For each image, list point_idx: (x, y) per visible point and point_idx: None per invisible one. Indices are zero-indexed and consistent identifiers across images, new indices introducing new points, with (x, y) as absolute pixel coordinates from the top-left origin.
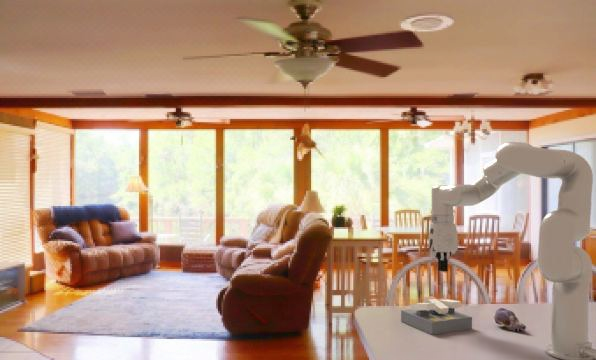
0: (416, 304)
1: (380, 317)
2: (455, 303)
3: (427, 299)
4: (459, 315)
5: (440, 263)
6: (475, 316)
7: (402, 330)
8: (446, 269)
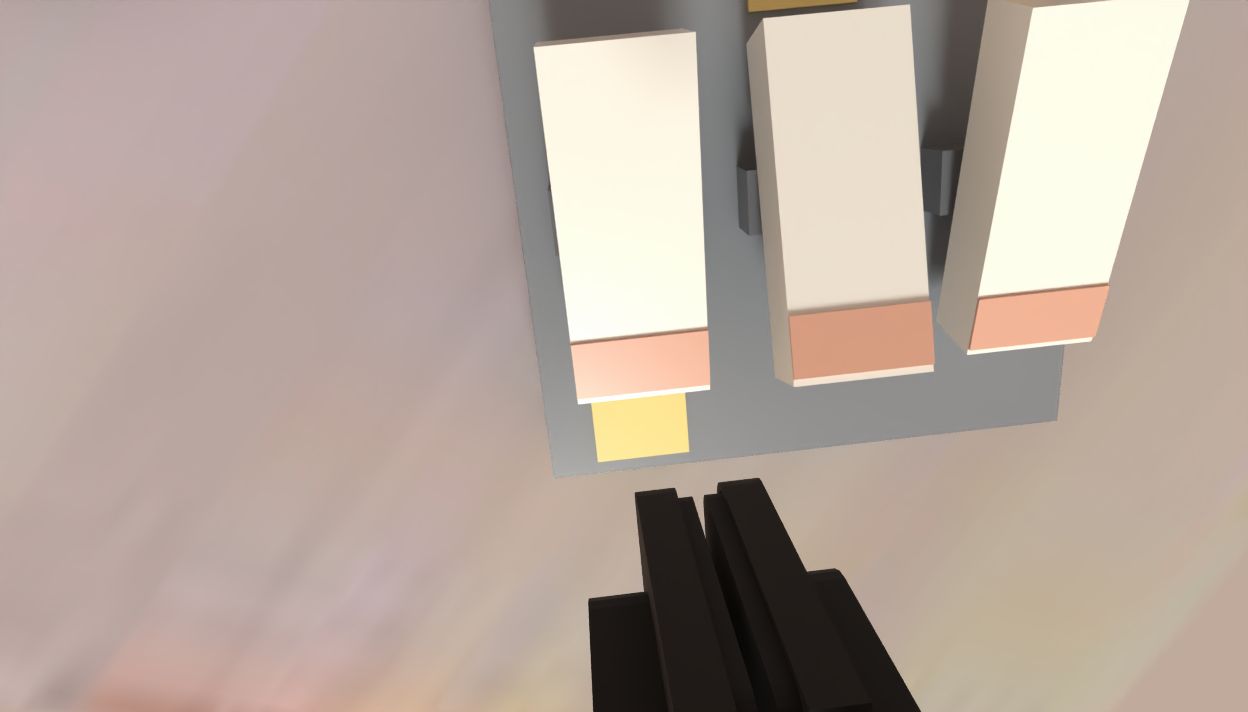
0: (1120, 226)
1: (1069, 534)
2: (641, 36)
3: (926, 298)
4: (589, 15)
5: (892, 693)
6: (182, 327)
7: (1176, 117)
8: (680, 507)
